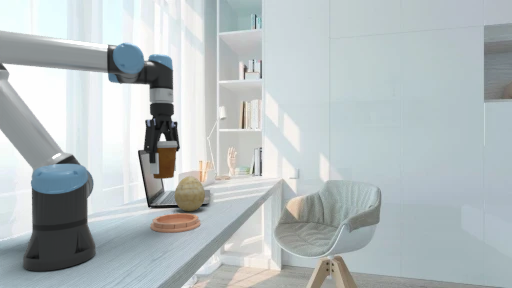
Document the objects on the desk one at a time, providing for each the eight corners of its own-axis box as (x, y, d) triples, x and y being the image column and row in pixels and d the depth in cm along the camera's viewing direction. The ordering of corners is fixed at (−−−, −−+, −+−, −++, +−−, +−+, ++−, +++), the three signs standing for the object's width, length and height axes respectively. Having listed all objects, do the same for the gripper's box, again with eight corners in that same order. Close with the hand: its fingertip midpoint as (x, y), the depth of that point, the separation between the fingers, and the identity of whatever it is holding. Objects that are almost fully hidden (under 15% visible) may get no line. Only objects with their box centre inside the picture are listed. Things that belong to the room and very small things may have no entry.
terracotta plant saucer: (154, 235, 94) (154, 227, 94) (147, 222, 109) (147, 216, 109) (206, 228, 101) (206, 221, 101) (193, 217, 116) (193, 211, 116)
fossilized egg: (195, 215, 119) (195, 178, 119) (168, 213, 123) (168, 177, 123) (210, 208, 132) (209, 175, 131) (185, 207, 135) (184, 174, 135)
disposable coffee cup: (169, 179, 92) (168, 141, 92) (142, 179, 94) (141, 141, 94) (183, 176, 101) (182, 140, 101) (158, 175, 103) (157, 141, 103)
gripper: (149, 98, 86) (151, 176, 87) (189, 105, 106) (190, 169, 106) (129, 100, 89) (131, 175, 89) (171, 107, 109) (173, 168, 109)
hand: (163, 172), depth 98 cm, fingers closed on disposable coffee cup, 8 cm apart
